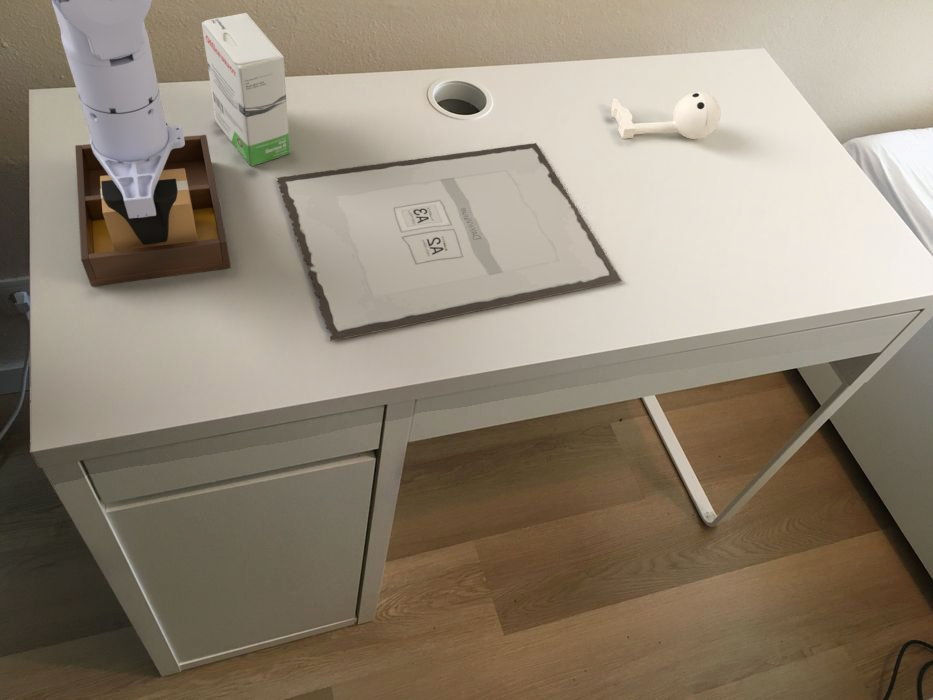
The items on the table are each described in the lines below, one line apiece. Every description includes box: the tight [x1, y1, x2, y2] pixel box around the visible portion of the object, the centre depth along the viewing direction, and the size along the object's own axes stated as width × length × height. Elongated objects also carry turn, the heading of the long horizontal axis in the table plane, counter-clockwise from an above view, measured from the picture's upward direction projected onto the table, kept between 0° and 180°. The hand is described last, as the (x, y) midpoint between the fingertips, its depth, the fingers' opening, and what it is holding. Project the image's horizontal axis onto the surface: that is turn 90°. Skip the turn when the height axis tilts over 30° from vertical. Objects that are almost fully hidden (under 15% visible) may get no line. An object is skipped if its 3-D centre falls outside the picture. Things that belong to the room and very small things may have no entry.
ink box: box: [201, 12, 291, 167], centre depth 77 cm, size 9×5×12 cm, turn 35°
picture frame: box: [276, 142, 623, 342], centre depth 78 cm, size 22×1×30 cm
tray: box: [74, 134, 232, 287], centre depth 72 cm, size 12×15×4 cm
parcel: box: [100, 168, 198, 251], centre depth 68 cm, size 7×5×5 cm, turn 108°
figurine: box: [610, 91, 721, 140], centre depth 92 cm, size 8×6×12 cm
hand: (152, 220), depth 69 cm, fingers closed on parcel, 4 cm apart
